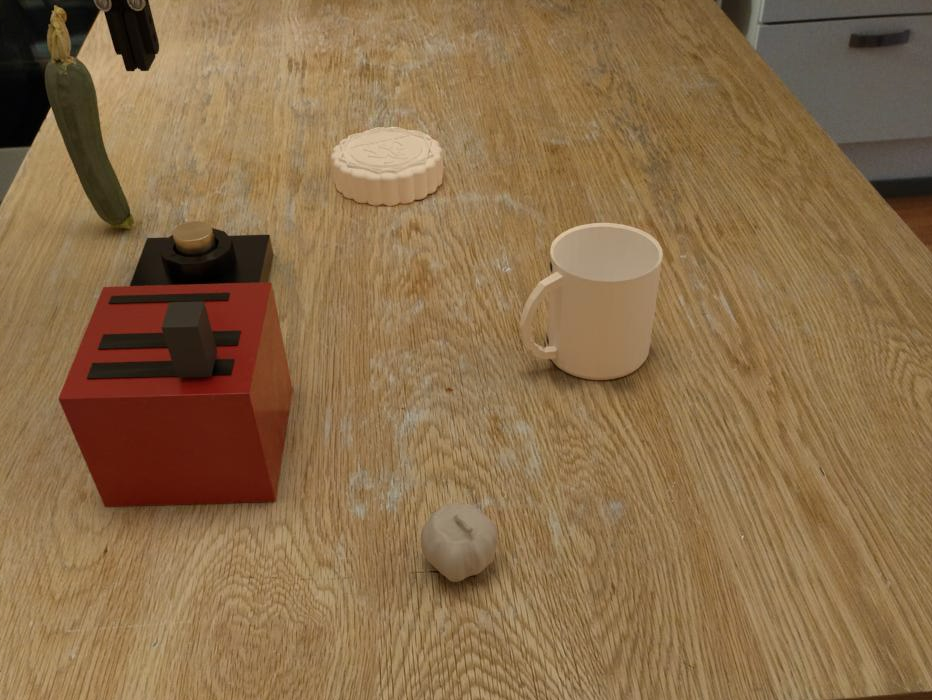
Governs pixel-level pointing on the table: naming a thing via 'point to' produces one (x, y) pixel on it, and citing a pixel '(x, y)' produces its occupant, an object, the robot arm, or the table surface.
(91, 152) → the vegetable
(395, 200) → the mooncake
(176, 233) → the button
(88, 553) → the table surface
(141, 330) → the toaster
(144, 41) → the robot arm
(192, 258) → the button block
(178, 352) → the toaster slider
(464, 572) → the garlic
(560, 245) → the mug
